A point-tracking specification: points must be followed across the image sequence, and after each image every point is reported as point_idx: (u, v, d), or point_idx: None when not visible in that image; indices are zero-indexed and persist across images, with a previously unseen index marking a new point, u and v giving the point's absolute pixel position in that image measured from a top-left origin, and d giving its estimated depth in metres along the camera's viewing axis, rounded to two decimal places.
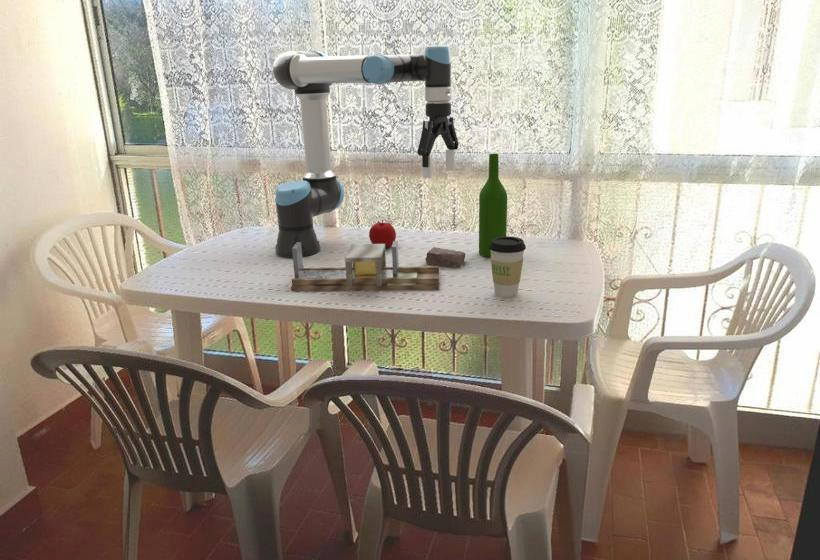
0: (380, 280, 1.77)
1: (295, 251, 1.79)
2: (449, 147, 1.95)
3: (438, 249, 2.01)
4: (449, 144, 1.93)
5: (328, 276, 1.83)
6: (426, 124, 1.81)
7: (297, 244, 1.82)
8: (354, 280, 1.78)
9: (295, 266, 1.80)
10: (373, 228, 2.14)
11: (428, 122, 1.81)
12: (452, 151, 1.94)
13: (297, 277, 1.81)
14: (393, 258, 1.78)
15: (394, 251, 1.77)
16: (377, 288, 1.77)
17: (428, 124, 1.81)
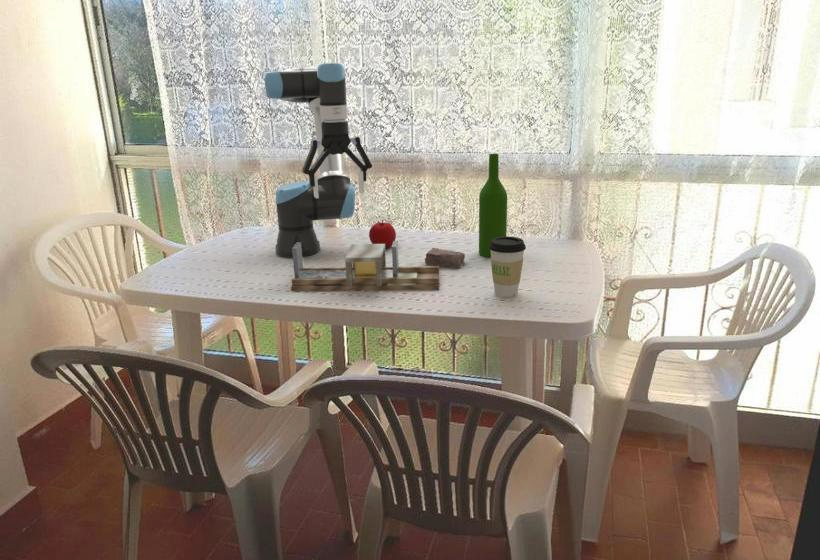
0: (380, 280, 1.77)
1: (295, 251, 1.79)
2: (361, 168, 1.84)
3: (437, 250, 2.00)
4: (357, 165, 1.83)
5: (328, 276, 1.83)
6: (312, 143, 1.76)
7: (297, 244, 1.82)
8: (354, 280, 1.78)
9: (295, 266, 1.80)
10: (373, 228, 2.14)
11: (312, 141, 1.75)
12: (360, 172, 1.83)
13: (297, 277, 1.81)
14: (393, 258, 1.78)
15: (394, 251, 1.77)
16: (377, 288, 1.77)
17: (312, 143, 1.76)
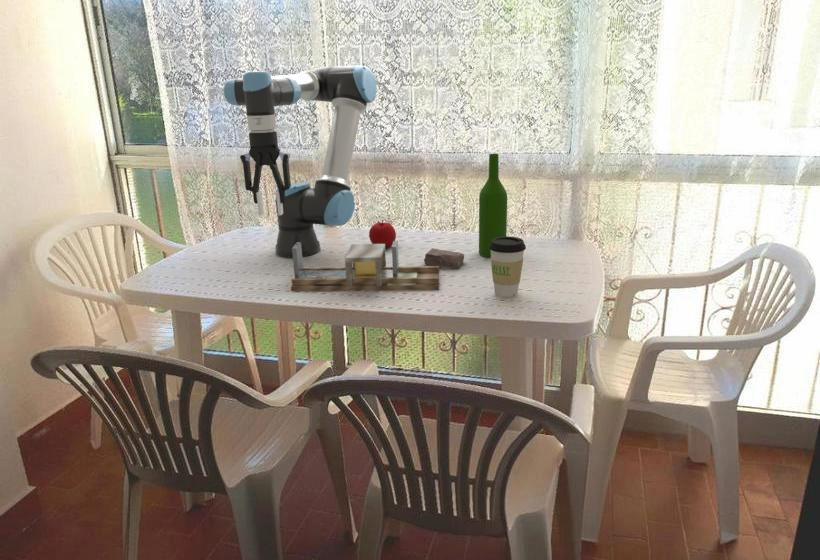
0: (380, 280, 1.77)
1: (295, 251, 1.79)
2: None
3: (437, 250, 1.99)
4: None
5: (328, 276, 1.83)
6: None
7: (297, 244, 1.82)
8: (354, 280, 1.78)
9: (295, 266, 1.80)
10: (373, 228, 2.14)
11: None
12: None
13: (297, 277, 1.81)
14: (393, 258, 1.78)
15: (394, 251, 1.77)
16: (377, 288, 1.77)
17: None
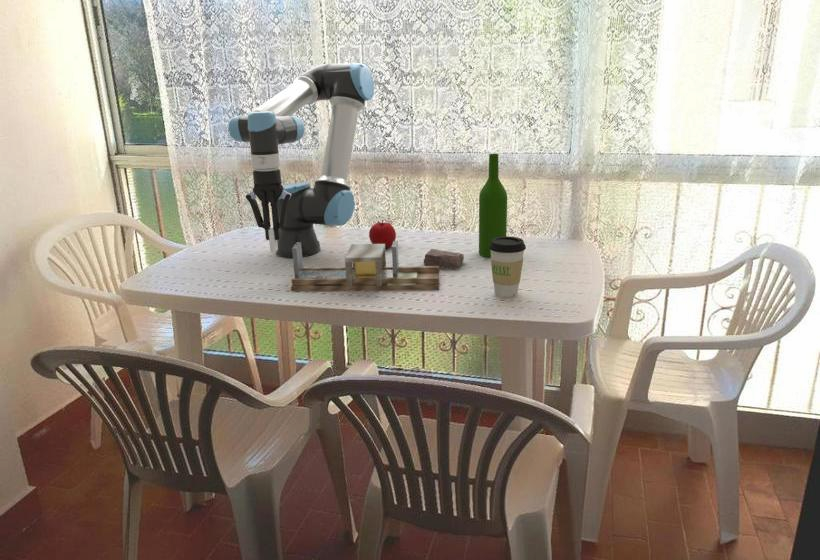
0: (380, 280, 1.77)
1: (295, 251, 1.79)
2: None
3: (436, 251, 1.99)
4: None
5: (328, 276, 1.83)
6: None
7: (297, 244, 1.82)
8: (354, 280, 1.78)
9: (295, 266, 1.80)
10: (373, 228, 2.14)
11: None
12: None
13: (297, 277, 1.81)
14: (393, 258, 1.78)
15: (394, 251, 1.77)
16: (377, 288, 1.77)
17: None
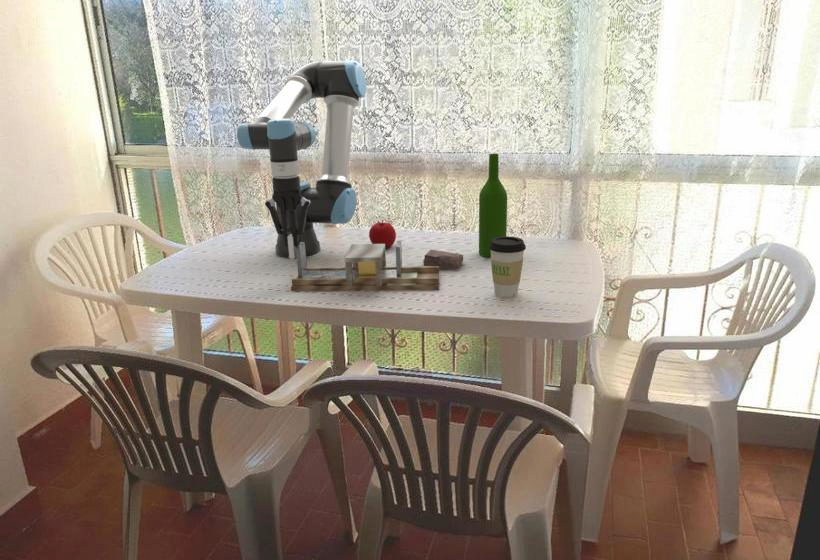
0: (380, 280, 1.77)
1: (299, 251, 1.79)
2: None
3: (435, 251, 1.98)
4: None
5: (332, 276, 1.82)
6: None
7: (301, 244, 1.82)
8: (354, 280, 1.78)
9: (299, 266, 1.80)
10: (373, 228, 2.14)
11: None
12: None
13: (301, 277, 1.81)
14: (397, 258, 1.78)
15: (398, 251, 1.77)
16: (377, 288, 1.77)
17: None
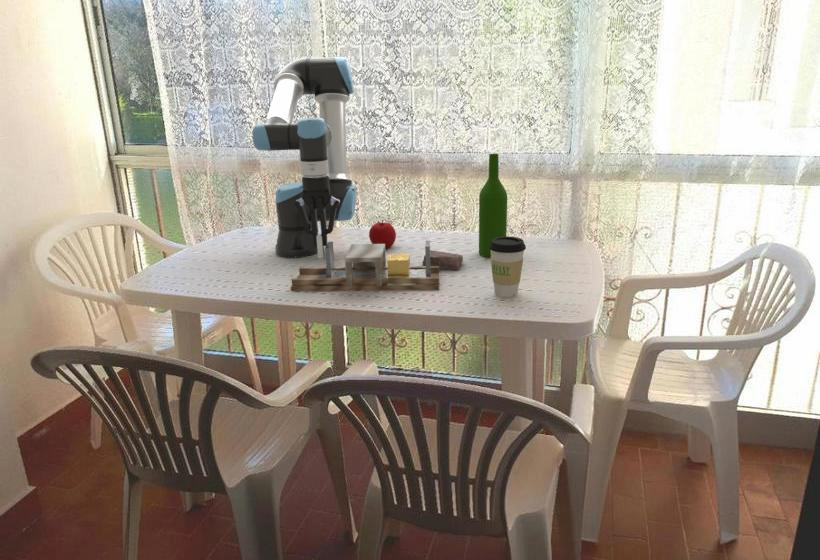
0: (380, 280, 1.77)
1: (328, 251, 1.78)
2: None
3: (435, 252, 1.98)
4: None
5: (360, 275, 1.82)
6: None
7: (329, 244, 1.82)
8: (354, 280, 1.78)
9: (328, 266, 1.80)
10: (373, 228, 2.14)
11: None
12: None
13: (329, 277, 1.81)
14: (426, 258, 1.77)
15: (427, 251, 1.77)
16: (377, 288, 1.77)
17: None
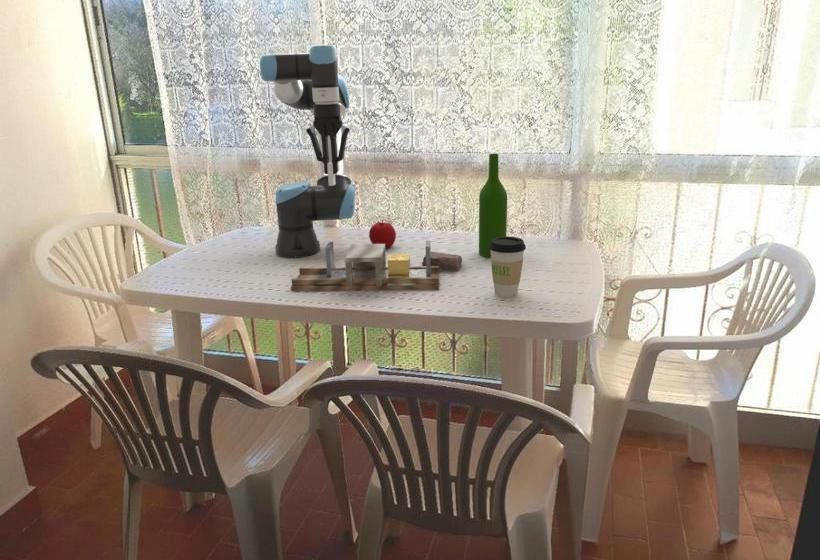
0: (380, 280, 1.77)
1: (328, 251, 1.78)
2: None
3: (434, 253, 1.97)
4: None
5: (361, 275, 1.82)
6: None
7: (329, 244, 1.82)
8: (354, 280, 1.78)
9: (328, 266, 1.80)
10: (373, 228, 2.14)
11: None
12: None
13: (330, 277, 1.81)
14: (427, 258, 1.77)
15: (428, 251, 1.77)
16: (377, 288, 1.77)
17: None
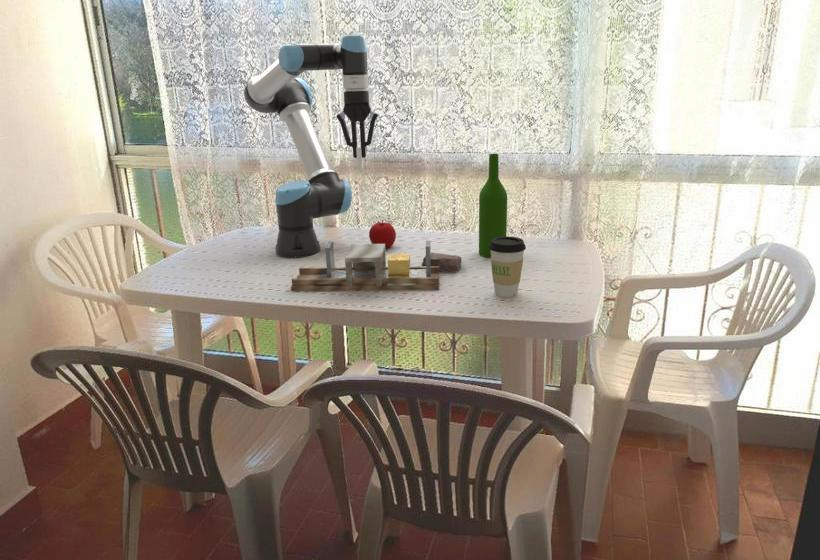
0: (380, 280, 1.77)
1: (328, 251, 1.78)
2: None
3: (433, 254, 1.96)
4: None
5: (361, 275, 1.82)
6: None
7: (329, 244, 1.82)
8: (354, 280, 1.78)
9: (328, 266, 1.80)
10: (373, 228, 2.14)
11: (336, 116, 1.92)
12: None
13: (330, 277, 1.81)
14: (427, 258, 1.77)
15: (428, 251, 1.77)
16: (377, 288, 1.77)
17: None
